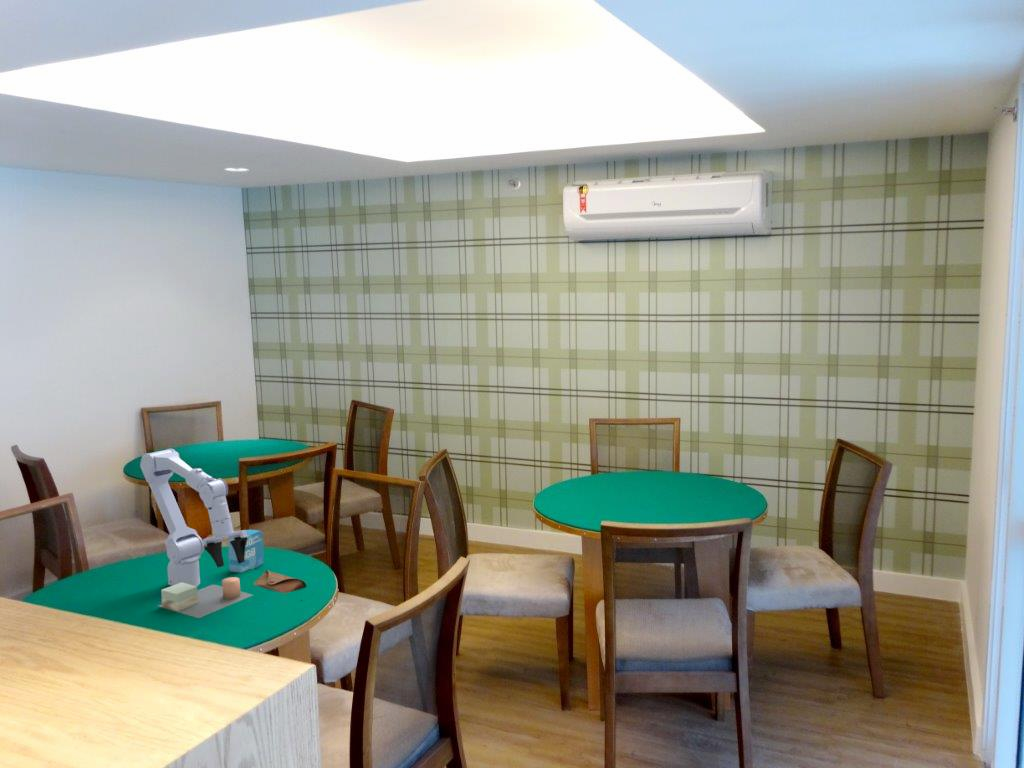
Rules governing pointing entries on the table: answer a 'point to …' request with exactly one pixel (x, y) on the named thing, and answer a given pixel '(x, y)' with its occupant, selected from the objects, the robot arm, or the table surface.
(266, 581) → the sunglasses case
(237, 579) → the terracotta cylinder
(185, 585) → the sage top slab
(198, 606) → the slate board
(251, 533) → the data package
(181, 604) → the birch base slab
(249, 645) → the table surface
